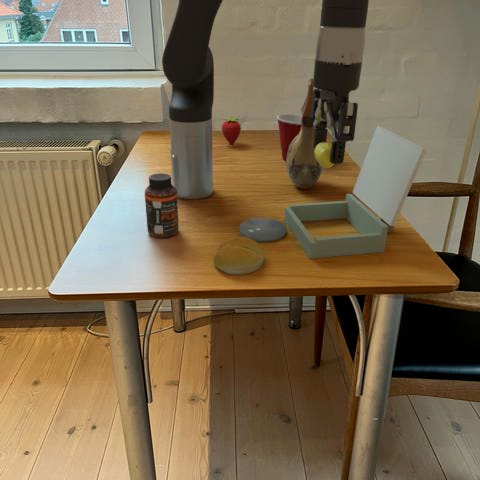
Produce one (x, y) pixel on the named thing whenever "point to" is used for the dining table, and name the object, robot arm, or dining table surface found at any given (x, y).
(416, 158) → the lid
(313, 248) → the frame
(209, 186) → the robot arm
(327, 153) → the yellow oblong lump
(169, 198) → the supplement bottle
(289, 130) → the plastic cup
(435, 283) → the dining table surface
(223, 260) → the bread roll
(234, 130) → the strawberry
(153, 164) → the dining table surface
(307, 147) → the ceramic vessel
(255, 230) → the saucer
